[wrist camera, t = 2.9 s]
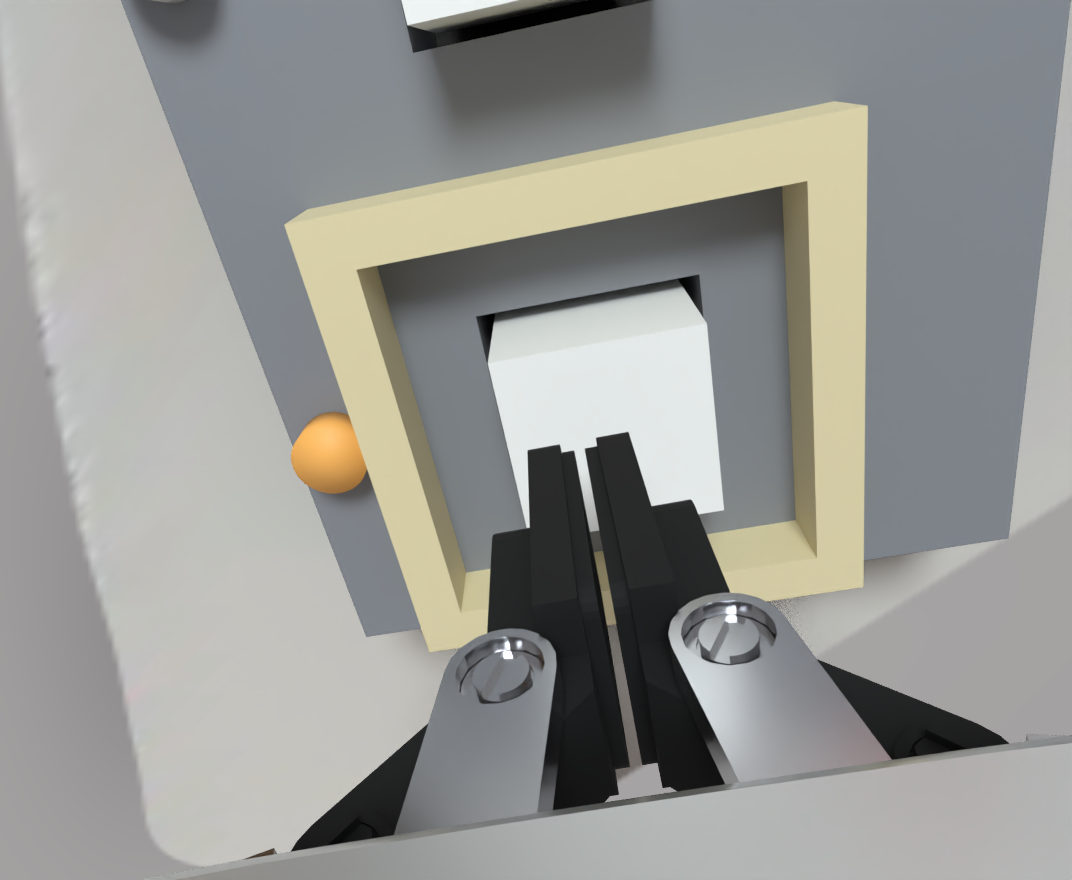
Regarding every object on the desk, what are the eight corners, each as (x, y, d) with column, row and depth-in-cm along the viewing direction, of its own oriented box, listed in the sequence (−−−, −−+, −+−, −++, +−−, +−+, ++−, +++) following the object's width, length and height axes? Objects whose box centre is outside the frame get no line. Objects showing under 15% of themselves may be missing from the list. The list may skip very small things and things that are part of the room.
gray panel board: (981, -486, 13) (1254, -820, 8) (929, 458, 21) (1047, 577, 16) (119, -257, 14) (-98, -423, 9) (392, 546, 23) (353, 680, 18)
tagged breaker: (669, 267, 17) (706, 323, 13) (687, 424, 19) (724, 510, 15) (497, 300, 17) (487, 363, 14) (530, 450, 19) (529, 541, 15)
